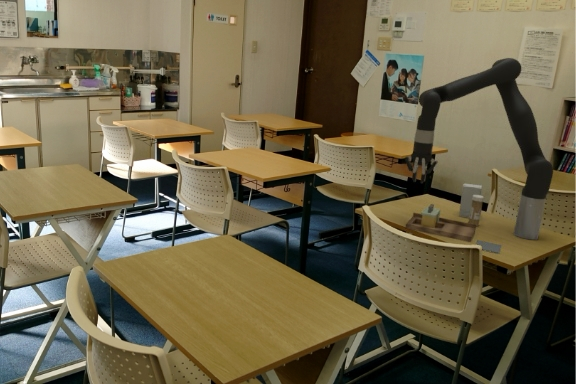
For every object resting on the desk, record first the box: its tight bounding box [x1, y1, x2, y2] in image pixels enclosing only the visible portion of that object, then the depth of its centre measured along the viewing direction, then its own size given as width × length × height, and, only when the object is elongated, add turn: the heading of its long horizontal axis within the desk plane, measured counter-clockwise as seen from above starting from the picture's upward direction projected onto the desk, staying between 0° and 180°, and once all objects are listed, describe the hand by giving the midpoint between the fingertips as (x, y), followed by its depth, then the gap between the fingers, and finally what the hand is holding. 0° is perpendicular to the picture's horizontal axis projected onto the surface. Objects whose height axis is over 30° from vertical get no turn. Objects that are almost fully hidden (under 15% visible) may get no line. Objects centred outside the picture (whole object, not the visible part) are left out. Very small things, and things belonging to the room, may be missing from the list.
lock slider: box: [420, 203, 441, 222], centre depth 216 cm, size 6×10×8 cm, turn 154°
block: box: [421, 215, 437, 228], centre depth 216 cm, size 5×5×6 cm
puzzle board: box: [404, 212, 477, 243], centre depth 215 cm, size 26×13×4 cm, turn 64°
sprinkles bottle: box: [468, 195, 485, 227], centre depth 225 cm, size 5×5×14 cm
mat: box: [475, 239, 502, 254], centre depth 201 cm, size 10×10×1 cm
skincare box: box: [458, 183, 483, 219], centre depth 237 cm, size 8×6×15 cm
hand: (418, 182), depth 215 cm, fingers open, 2 cm apart
